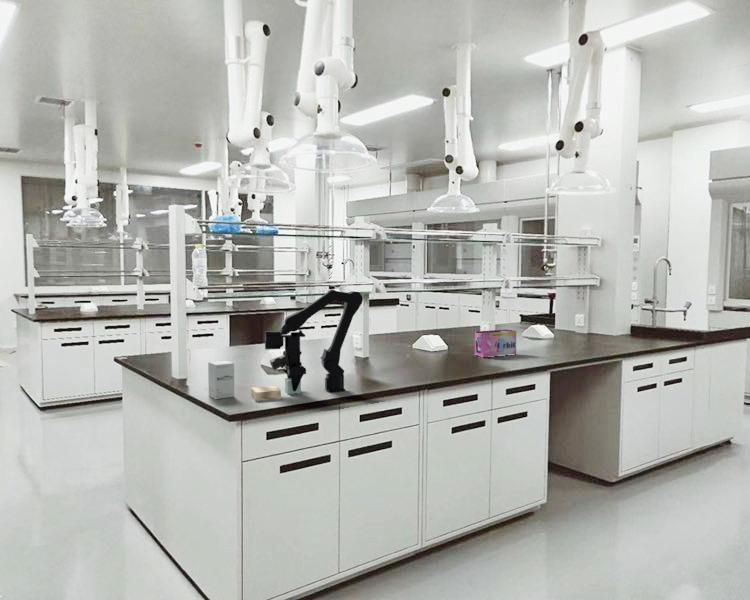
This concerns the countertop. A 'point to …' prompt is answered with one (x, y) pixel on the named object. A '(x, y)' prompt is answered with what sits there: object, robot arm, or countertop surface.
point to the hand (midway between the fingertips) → (292, 389)
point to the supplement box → (221, 379)
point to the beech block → (265, 393)
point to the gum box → (495, 342)
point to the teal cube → (289, 387)
